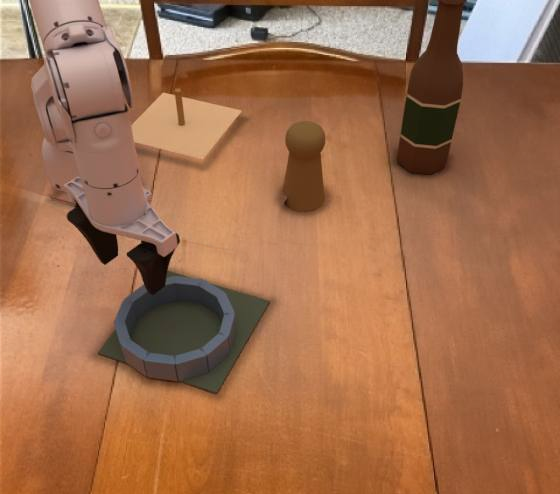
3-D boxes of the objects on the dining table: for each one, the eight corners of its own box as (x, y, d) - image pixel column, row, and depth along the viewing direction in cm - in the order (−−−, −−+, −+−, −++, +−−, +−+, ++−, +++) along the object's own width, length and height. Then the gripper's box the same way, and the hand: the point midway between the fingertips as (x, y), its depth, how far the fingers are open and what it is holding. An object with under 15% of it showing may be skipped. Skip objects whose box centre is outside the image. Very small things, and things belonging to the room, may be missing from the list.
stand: (120, 146, 103) (111, 104, 97) (164, 100, 111) (158, 58, 105) (203, 168, 99) (199, 124, 94) (242, 119, 108) (240, 76, 102)
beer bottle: (455, 155, 102) (496, -16, 83) (434, 182, 97) (471, 8, 79) (408, 139, 104) (437, -31, 85) (385, 165, 100) (410, -8, 81)
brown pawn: (320, 214, 93) (325, 143, 84) (277, 208, 94) (277, 137, 85) (327, 187, 97) (332, 117, 88) (286, 182, 97) (287, 111, 89)
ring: (96, 341, 78) (90, 323, 76) (177, 279, 85) (174, 261, 82) (178, 400, 73) (175, 383, 71) (257, 329, 80) (257, 311, 77)
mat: (97, 354, 77) (97, 352, 77) (160, 270, 86) (160, 268, 86) (216, 394, 74) (216, 392, 74) (269, 302, 83) (269, 300, 82)
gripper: (192, 180, 65) (204, 282, 75) (90, 126, 70) (115, 229, 81) (138, 217, 61) (159, 319, 72) (36, 157, 67) (69, 260, 78)
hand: (132, 273), depth 76 cm, fingers open, 7 cm apart
